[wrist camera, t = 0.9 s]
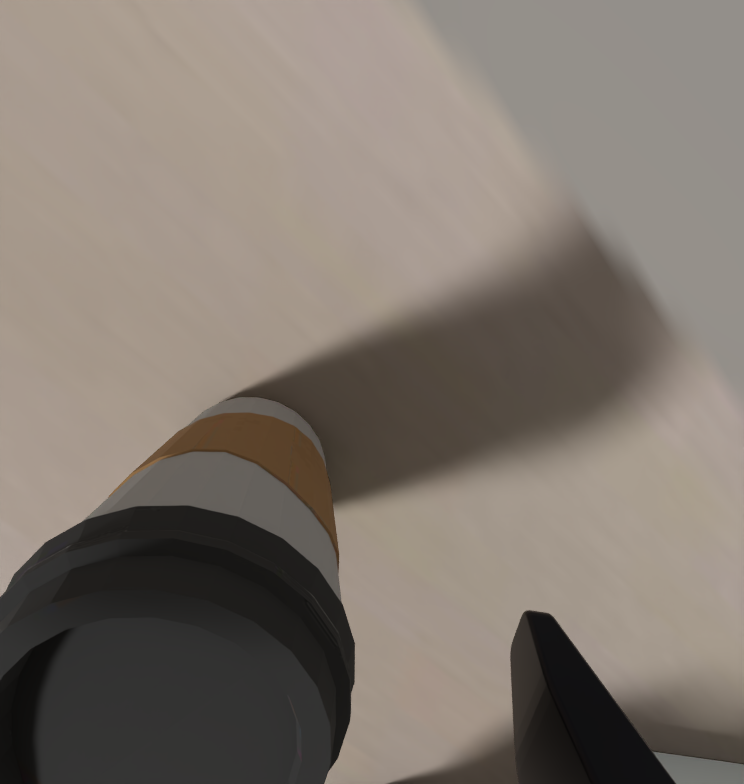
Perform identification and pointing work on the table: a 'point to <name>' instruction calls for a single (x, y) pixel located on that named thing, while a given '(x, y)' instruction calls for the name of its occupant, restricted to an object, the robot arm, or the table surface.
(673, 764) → the channel
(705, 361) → the table surface
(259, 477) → the coffee cup
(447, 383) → the table surface
